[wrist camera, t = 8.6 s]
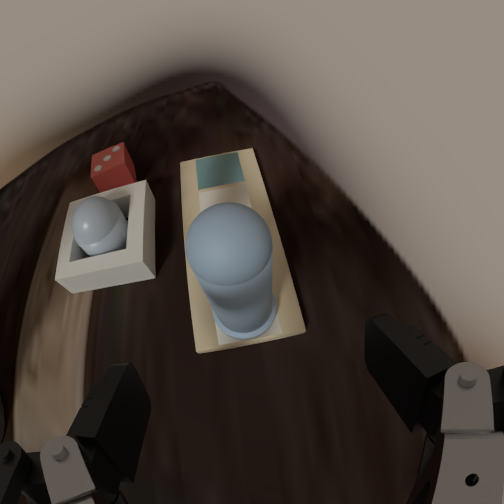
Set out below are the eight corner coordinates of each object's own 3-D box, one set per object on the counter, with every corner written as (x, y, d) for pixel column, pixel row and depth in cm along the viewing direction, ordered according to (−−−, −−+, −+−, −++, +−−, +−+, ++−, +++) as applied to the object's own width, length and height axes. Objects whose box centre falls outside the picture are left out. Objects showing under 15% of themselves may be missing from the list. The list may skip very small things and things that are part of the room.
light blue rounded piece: (87, 269, 24) (55, 237, 19) (92, 226, 26) (66, 192, 22) (132, 259, 24) (105, 223, 19) (134, 215, 27) (112, 177, 22)
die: (105, 201, 29) (90, 176, 25) (105, 178, 31) (91, 154, 27) (137, 188, 29) (124, 161, 26) (134, 166, 31) (123, 141, 28)
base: (72, 293, 23) (54, 279, 21) (82, 219, 28) (69, 202, 25) (155, 277, 24) (142, 261, 21) (155, 199, 28) (146, 179, 26)
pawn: (218, 345, 20) (170, 281, 10) (210, 287, 22) (167, 190, 13) (282, 332, 20) (293, 257, 11) (268, 276, 22) (266, 171, 13)
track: (198, 353, 20) (196, 351, 20) (181, 167, 30) (180, 162, 30) (304, 332, 21) (305, 330, 20) (252, 153, 31) (252, 148, 30)
